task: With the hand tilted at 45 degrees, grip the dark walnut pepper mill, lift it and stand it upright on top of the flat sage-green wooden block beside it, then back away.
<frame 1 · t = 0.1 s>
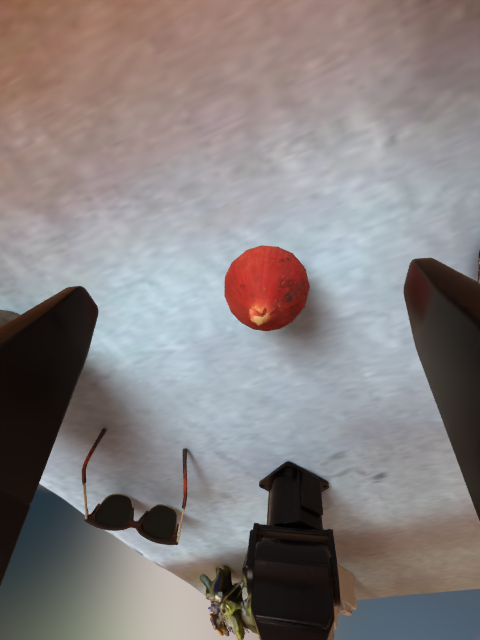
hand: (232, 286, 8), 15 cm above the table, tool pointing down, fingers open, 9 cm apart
onion: (269, 268, 24), on the table
lighter: (334, 565, 49), on the table
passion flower: (244, 562, 53), on the table
sunglasses: (145, 470, 43), on the table
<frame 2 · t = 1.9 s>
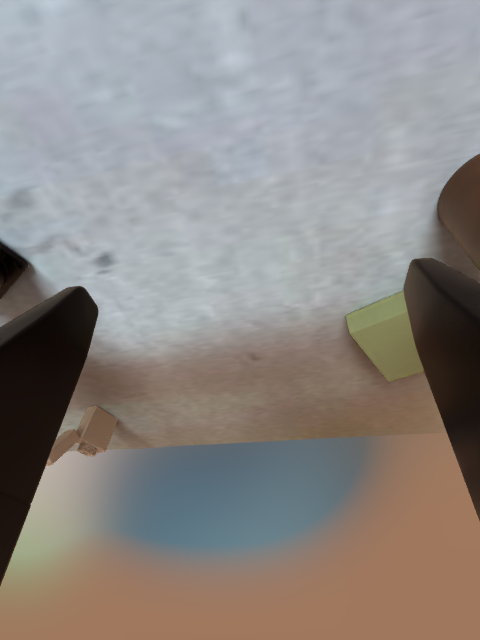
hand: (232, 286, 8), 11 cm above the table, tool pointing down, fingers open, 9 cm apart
lighter: (95, 407, 40), on the table
riser block: (411, 324, 24), on the table
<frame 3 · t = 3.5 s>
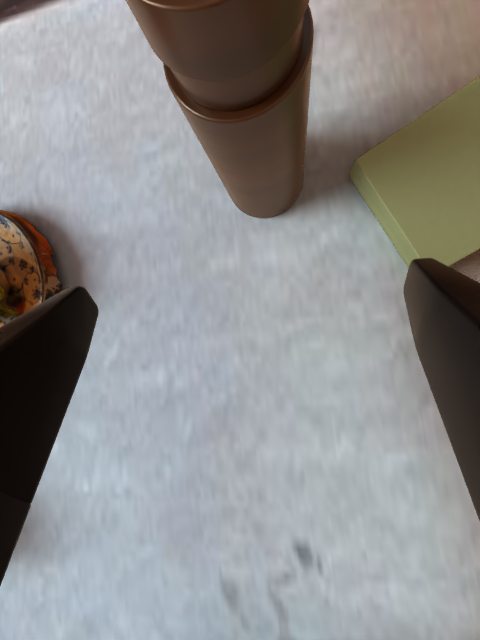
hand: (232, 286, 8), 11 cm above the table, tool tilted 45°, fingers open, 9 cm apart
pepper mill: (265, 180, 19), on the table
riser block: (441, 190, 17), on the table
when the fingers open (9 cm above the table, at t = 11.4 s): pepper mill stays where it is, resting on riser block.
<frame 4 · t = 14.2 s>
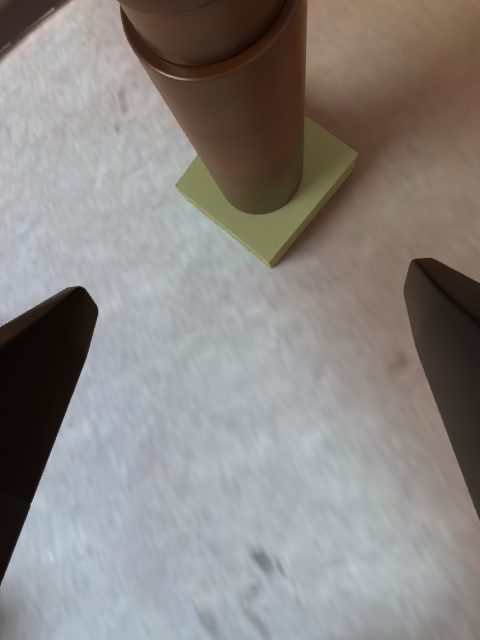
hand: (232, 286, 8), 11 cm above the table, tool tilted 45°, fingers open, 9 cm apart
pepper mill: (260, 172, 17), point 2 cm above the table, touching riser block
riser block: (265, 185, 19), on the table, touching pepper mill
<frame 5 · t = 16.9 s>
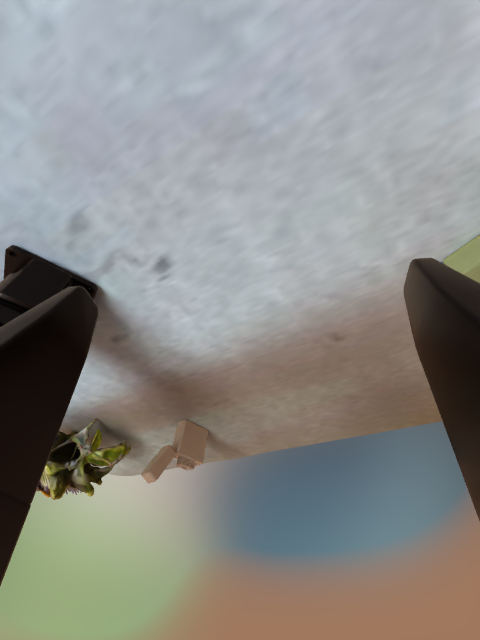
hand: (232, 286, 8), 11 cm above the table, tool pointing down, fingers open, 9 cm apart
lighter: (185, 421, 40), on the table
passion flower: (90, 425, 44), on the table
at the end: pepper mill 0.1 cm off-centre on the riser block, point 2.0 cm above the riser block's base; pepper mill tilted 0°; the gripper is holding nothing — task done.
